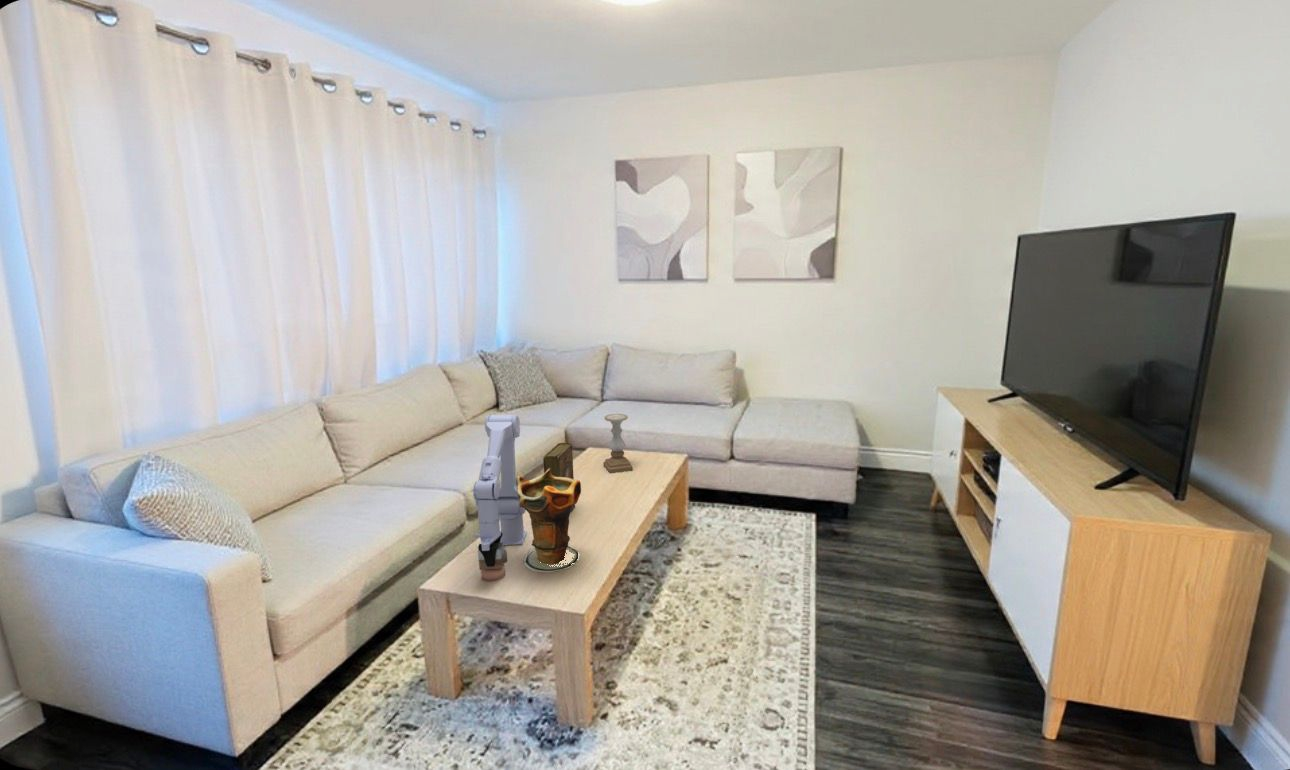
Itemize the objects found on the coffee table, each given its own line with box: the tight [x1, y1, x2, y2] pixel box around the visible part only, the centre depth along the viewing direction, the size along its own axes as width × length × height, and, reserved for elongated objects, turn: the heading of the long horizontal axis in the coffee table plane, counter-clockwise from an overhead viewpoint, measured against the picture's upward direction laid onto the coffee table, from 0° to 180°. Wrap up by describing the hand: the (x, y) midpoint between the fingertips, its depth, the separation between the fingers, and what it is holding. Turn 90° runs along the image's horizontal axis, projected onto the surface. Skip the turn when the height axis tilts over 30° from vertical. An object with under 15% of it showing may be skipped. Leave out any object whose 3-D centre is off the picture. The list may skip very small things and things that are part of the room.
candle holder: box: [603, 413, 633, 474], centre depth 267 cm, size 11×11×24 cm
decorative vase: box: [515, 468, 582, 574], centre depth 187 cm, size 21×23×28 cm
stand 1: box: [480, 563, 507, 583], centre depth 179 cm, size 7×7×2 cm
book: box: [543, 442, 576, 513], centre depth 219 cm, size 16×6×25 cm, turn 168°
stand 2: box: [504, 548, 508, 564], centre depth 188 cm, size 7×7×2 cm
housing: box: [477, 542, 505, 570], centre depth 178 cm, size 4×6×6 cm
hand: (492, 561), depth 179 cm, fingers closed on housing, 4 cm apart
